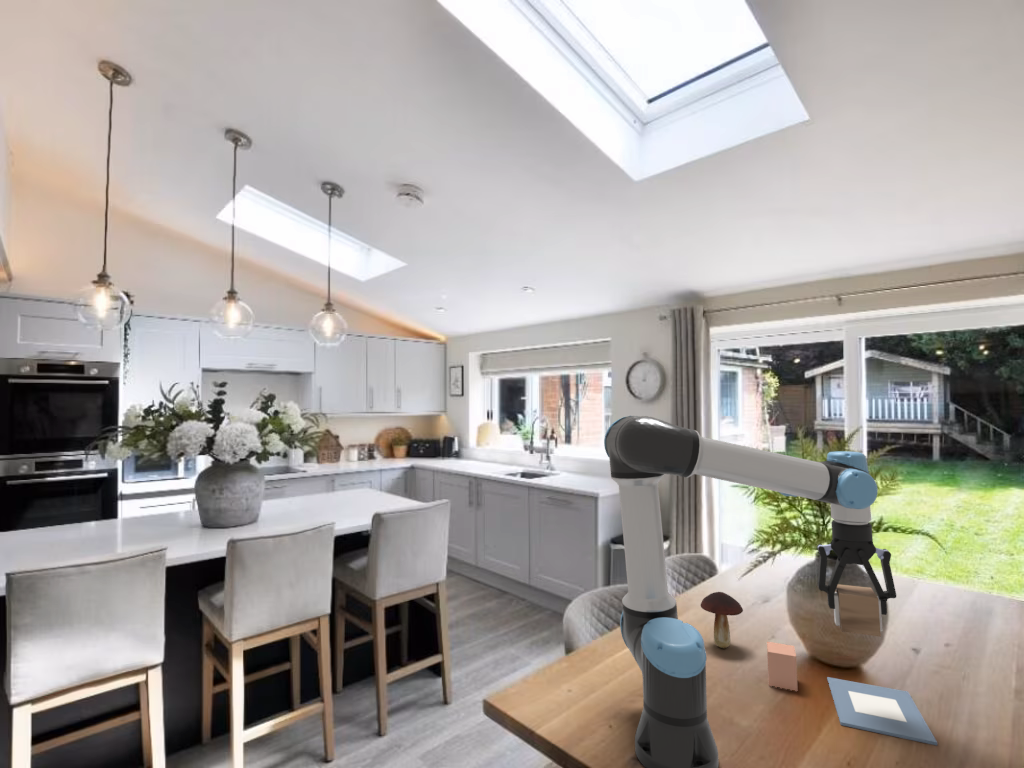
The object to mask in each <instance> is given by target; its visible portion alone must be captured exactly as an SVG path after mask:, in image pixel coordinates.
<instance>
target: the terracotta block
mask: <svg viewBox="0 0 1024 768" xmlns="http://www.w3.org/2000/svg"><path fill="white" fill-rule="evenodd" d="M795 648H796V647H795V645H792V644H791V645H790V644H784V643H779V642H772V641H766V652H767V654H766V657H767V678H768V686H769V687H772V686H775V687H774V688H777V687H780V688H779V689H782V688H786V689H785V690H787V689H790V690H789V691H792V690H795V691H794V692H797V691H799V689H798V667H797V654H796V653H797V652H796V649H795Z"/></svg>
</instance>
